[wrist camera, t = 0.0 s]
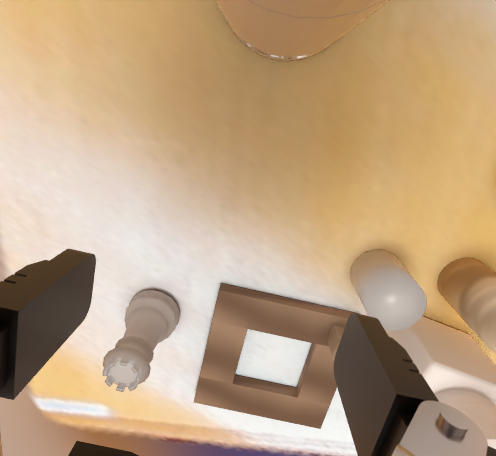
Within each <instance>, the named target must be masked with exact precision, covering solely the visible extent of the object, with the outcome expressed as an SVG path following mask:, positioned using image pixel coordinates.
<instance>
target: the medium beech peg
mask: <svg viewBox="0 0 496 456" xmlns="http://www.w3.org/2000/svg"><path fill="white" fill-rule="evenodd" d="M437 285H438V290H439V292H440V294H441V295H442V296H443V297H444V298H445V299H446V301H447V302H448V303H449V304H450V305H451V306H452V307H453V308H454V310H455V311H456V312H457V313H458V314H459V315H460V316H461V317H462V319H463V320H464V321H465V322H466V323H467V324H468V325H469V326H470V328H471V329H472V330H473V331H474V332H475V333H476V334H477V335H478V337H479V338H480V339H481V340H482V341H483V342H484V343H485V344H486V346H487V347H488V348H490V349H491V350H492V351H494V352H496V273H495V272H494V271H493V270H491V269H490V268H489V267H487V266H486V265H485V264H484V263H482V262H481V261H479V260H477V259H473V258H462V259H458V260H455V261H453V262H451V263H450V264H448V265H447V266H446V267H445V268H444V269H443V270H442V271H441V273H440V275H439V277H438V282H437Z"/></svg>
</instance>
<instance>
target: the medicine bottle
mask: <svg viewBox="0 0 496 456" xmlns="http://www.w3.org/2000/svg"><path fill="white" fill-rule="evenodd" d="M385 331H386V333H387V334H388V336H389V337H392V338H393V339H394V340H395V341H397V342H398V343H399V344H400V345H401V346H402V347H403V348H404V349H405V350H406V351H407V353H408V354H409V356H410V357H411V359H412V360H413V363H415V365H416V367H417V368H418V370H419V373H420V374H422V376H423V377H424V379H425V380H426V382H427V383H428V385H429V387H430V388H431V390H432V391H433V393H434V394H435V396H436V397H437V399H438V400H439V402H441V403H444V404H447V405H449V406H451V407H453V408H455V409H457V410H459V411H460V412H462V413H463V414H465V415H466V416H467V417H469V418H470V419H471V420H472V421H473V422H474V423H475V424H476V425H477V426H478V427H479V428H480V429H481V430H482V432H483V433H484V435H485V437H486V439H487V442H488V446H490V447H492V448H494V449H496V365H495V364H494V363H493V361H492V360H491V359H490V358H489V357H488V356H487V354H486V353H485V352H484V351H483V350H482V349H481V347H480V346H479V345H478V344H477V343H476V342H475V340H474V339H473V338H472V337H471V336H470V335H469V334H466V333H464V332H461V331H459V330H456V329H454V328H451V327H449V326H446V325H443V324H441V323H438V322H436V321H433V320H431V319H428V318H426V317H423V316H422V317H421V318H420V319H419V320H418V321H417V322H416V323H415V324H413V325H412V326H410V327H408V328H405V329H402V330H394V331H393V330H385Z"/></svg>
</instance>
